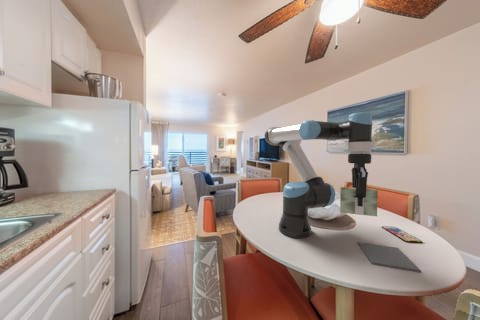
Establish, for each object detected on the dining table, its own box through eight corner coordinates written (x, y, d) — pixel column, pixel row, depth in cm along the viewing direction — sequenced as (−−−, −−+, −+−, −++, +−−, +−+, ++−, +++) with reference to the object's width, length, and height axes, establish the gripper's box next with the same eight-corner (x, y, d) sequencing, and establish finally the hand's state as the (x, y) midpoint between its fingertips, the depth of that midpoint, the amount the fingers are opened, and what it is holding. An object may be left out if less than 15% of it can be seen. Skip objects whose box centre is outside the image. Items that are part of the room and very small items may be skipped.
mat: (371, 263, 62) (371, 262, 62) (357, 243, 76) (357, 241, 76) (421, 272, 58) (421, 270, 58) (397, 249, 72) (397, 247, 72)
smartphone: (395, 226, 91) (423, 241, 76) (395, 228, 91) (423, 244, 76) (380, 226, 92) (406, 241, 77) (380, 227, 92) (405, 243, 77)
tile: (340, 212, 71) (341, 187, 71) (340, 211, 73) (340, 187, 73) (376, 216, 67) (377, 190, 66) (375, 214, 69) (375, 189, 68)
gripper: (378, 153, 61) (376, 220, 61) (365, 153, 75) (363, 208, 75) (352, 153, 63) (351, 218, 64) (344, 153, 77) (343, 206, 78)
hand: (358, 212), depth 70 cm, fingers closed on tile, 2 cm apart
